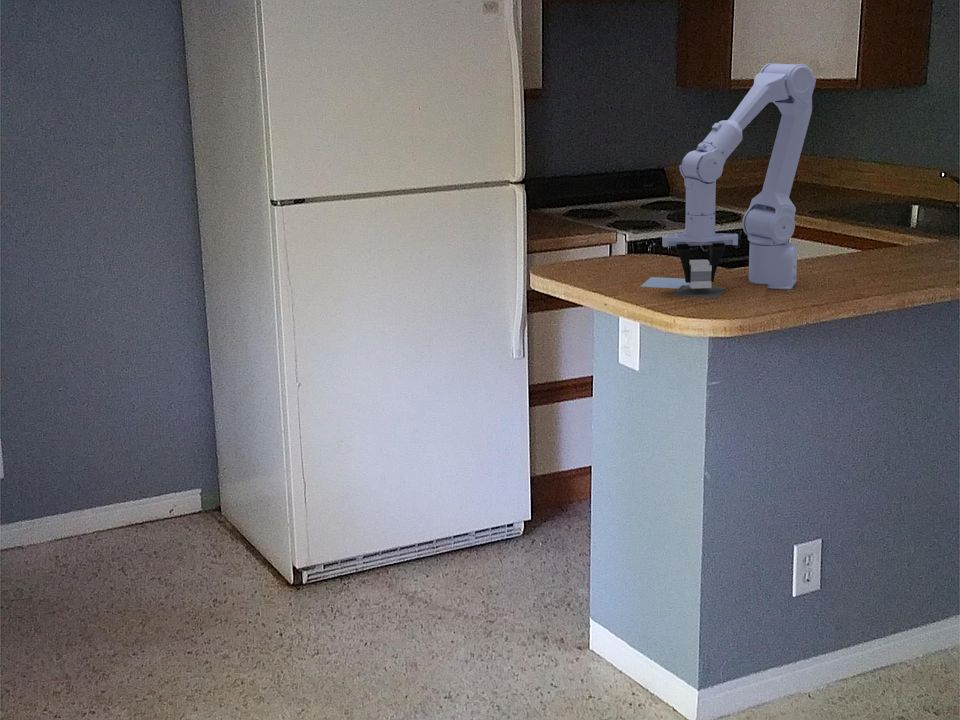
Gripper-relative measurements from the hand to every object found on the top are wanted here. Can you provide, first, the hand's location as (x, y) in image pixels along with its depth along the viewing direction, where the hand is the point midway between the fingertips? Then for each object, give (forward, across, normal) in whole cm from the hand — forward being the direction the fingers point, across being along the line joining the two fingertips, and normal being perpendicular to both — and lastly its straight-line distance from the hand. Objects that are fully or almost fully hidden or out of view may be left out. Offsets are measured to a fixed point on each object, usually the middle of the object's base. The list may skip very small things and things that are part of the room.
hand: (699, 281), depth 239 cm
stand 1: (+3, +6, -8) cm, 10 cm away
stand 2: (+3, 0, 0) cm, 3 cm away
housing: (+1, 0, 0) cm, 1 cm away
